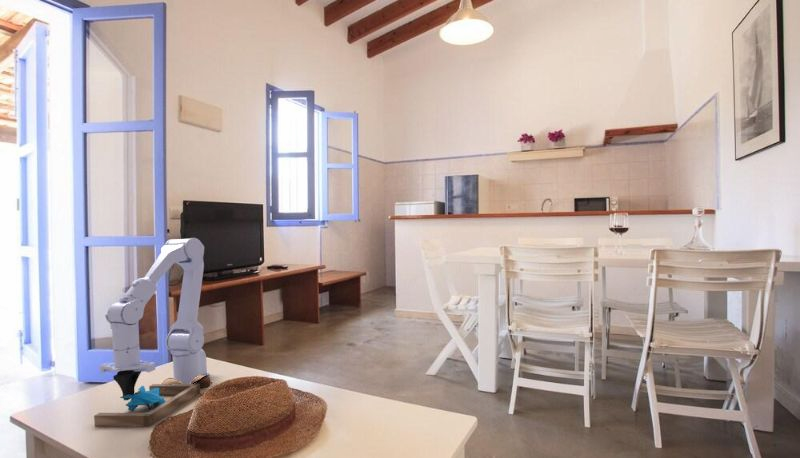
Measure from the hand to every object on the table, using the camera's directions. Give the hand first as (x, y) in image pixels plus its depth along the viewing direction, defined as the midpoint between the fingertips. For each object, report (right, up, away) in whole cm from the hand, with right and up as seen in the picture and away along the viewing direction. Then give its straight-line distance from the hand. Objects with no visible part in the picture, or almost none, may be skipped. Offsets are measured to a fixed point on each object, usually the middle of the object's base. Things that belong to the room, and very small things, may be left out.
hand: (129, 398), depth 104 cm
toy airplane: (+5, -2, -1) cm, 6 cm away
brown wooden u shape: (+6, -2, -1) cm, 6 cm away
